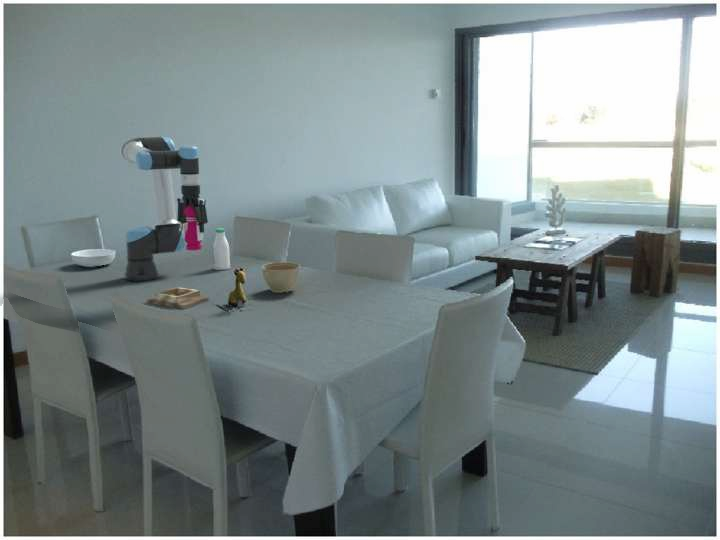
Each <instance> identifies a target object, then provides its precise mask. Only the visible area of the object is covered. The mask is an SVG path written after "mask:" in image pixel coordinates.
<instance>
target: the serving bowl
mask: <svg viewBox="0 0 720 540" xmlns="http://www.w3.org/2000/svg"><path fill="white" fill-rule="evenodd" d="M70 256H71V259H72V261H73V262H74V263H75V264H76V265H78V266H81V267H85V268H96V267H95V266H101V267H103V266H102V265H104V266H106V265H109V264H110V263H112V262H114V261H113V260H114V259H115V258H116V250H113V249H108V248H107V249H105V248H91V249H82V250H76V251H74V252H72V253H71V254H70Z"/></svg>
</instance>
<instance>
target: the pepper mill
mask: <svg viewBox="0 0 720 540" xmlns="http://www.w3.org/2000/svg"><path fill="white" fill-rule="evenodd" d="M196 207H197V206H196ZM184 212H185V215H186V216H187V217H186V218H187V219H186V221H187V223H188V227H187V231H186V234H185V247H186V250H187V251H199V250H202V249H203V248H202V244H201V243H202V242H203V240H201V241H198V238H197V224H198V222H197V219H196V216H195V210H194V209H192V206H187V207H186V208H185V211H184Z"/></svg>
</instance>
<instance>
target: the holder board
mask: <svg viewBox="0 0 720 540" xmlns="http://www.w3.org/2000/svg"><path fill="white" fill-rule="evenodd" d="M206 301H207V302H209V301H210V297H209V296H205V295H204V296H203V295H201V290H199V289H193V288H187V287H186V288H185V287H178V286H176V287H173V288H169V289H166V290H163V291H159V292H156V293H154V296H152V297H149V298H147V299H146V302H147V303H148V304H152V305H153V304H154V305H159V306H166V307H171V308H178V309H183V310H185V309H189V308H191V306H192V307H194V305H195V306H198V305H200V303H201V304H203V303H202V302H204V303H207V302H206ZM197 304H198V305H197Z"/></svg>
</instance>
